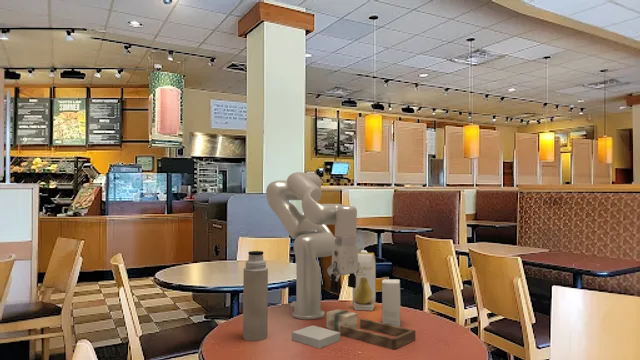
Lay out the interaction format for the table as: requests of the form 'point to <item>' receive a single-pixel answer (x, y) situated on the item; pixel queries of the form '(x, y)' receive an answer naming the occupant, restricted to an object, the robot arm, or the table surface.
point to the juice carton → (365, 282)
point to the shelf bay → (400, 340)
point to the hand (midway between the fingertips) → (343, 289)
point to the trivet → (316, 336)
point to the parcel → (340, 319)
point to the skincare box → (391, 301)
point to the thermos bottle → (255, 297)
